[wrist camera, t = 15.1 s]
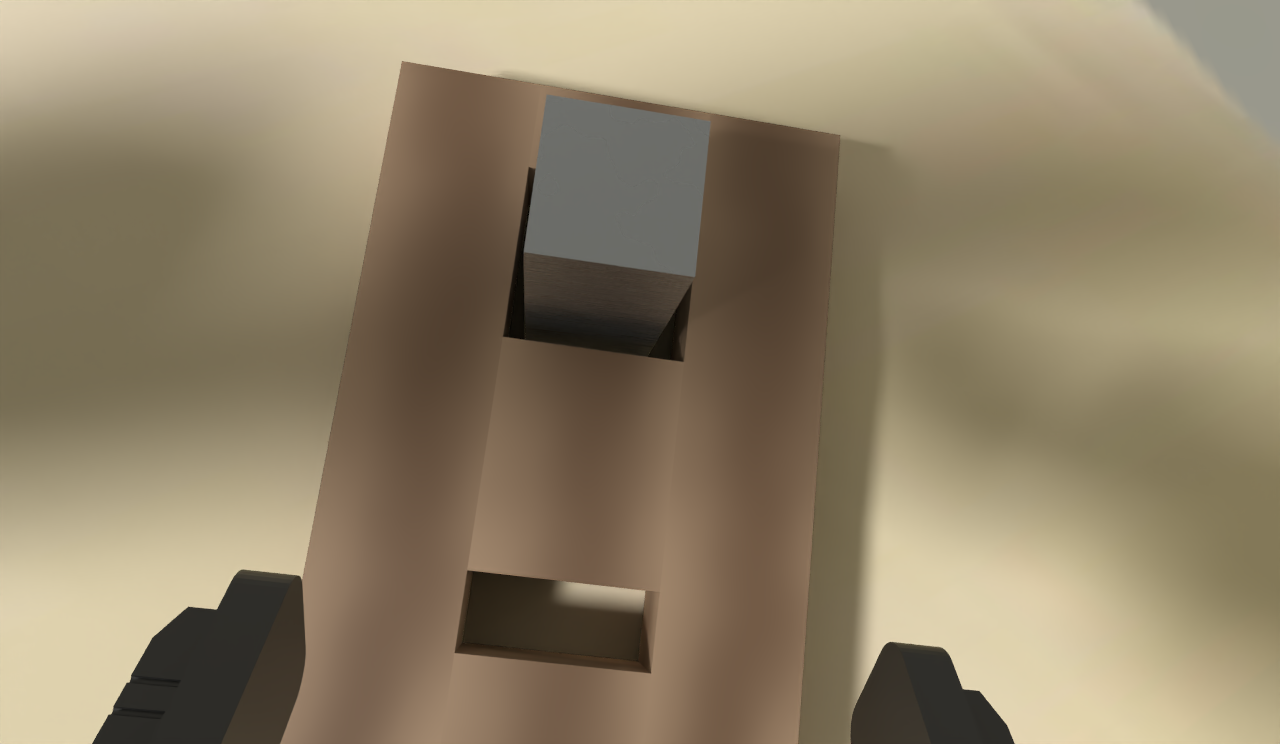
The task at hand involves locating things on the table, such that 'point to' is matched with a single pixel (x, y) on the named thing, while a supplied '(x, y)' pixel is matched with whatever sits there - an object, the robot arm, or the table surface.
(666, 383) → the plate
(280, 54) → the table surface
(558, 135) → the square bit
